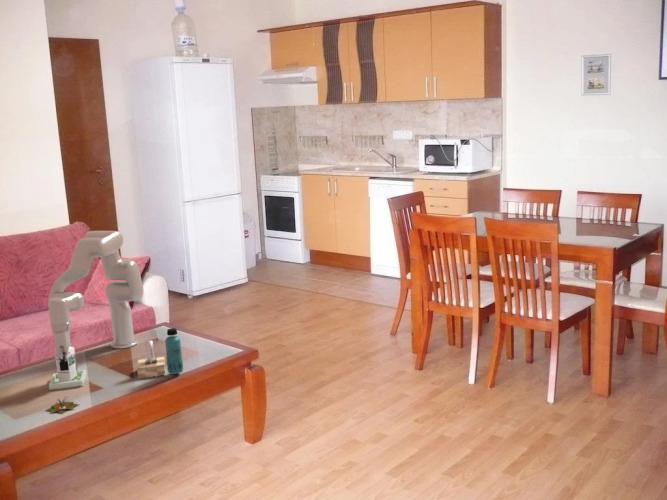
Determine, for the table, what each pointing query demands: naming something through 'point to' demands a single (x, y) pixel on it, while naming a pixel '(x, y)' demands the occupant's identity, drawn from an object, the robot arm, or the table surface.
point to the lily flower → (61, 404)
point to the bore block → (151, 368)
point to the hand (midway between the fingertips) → (66, 366)
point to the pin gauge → (149, 352)
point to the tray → (56, 385)
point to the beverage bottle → (173, 352)
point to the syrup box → (72, 372)
